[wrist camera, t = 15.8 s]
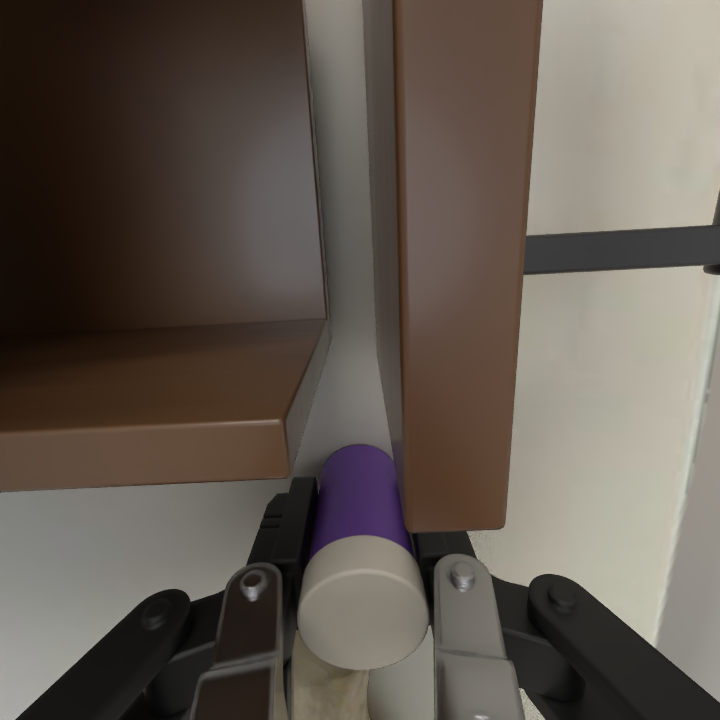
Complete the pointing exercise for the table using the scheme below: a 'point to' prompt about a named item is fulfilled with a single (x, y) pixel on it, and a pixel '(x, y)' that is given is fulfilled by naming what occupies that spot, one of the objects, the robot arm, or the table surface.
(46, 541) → the table surface
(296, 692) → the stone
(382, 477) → the glue stick
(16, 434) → the drawer
